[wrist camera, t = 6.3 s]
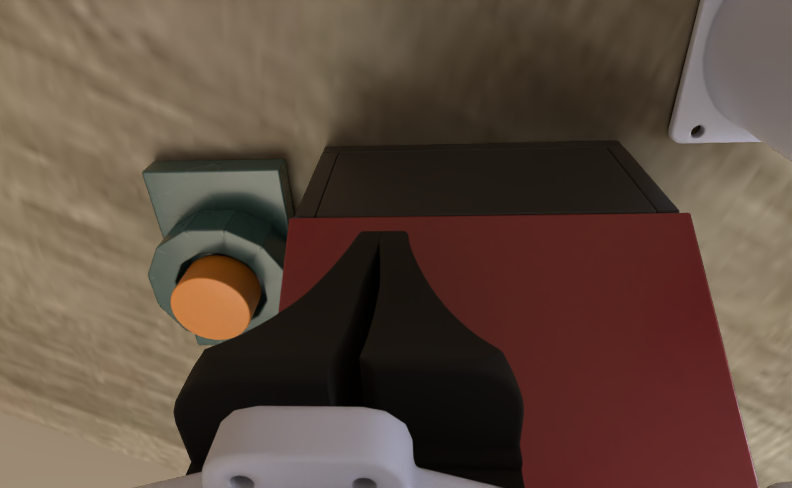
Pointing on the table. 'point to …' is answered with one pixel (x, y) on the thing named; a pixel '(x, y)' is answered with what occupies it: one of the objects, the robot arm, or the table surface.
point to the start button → (216, 297)
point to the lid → (579, 337)
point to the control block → (221, 223)
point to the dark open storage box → (481, 181)
